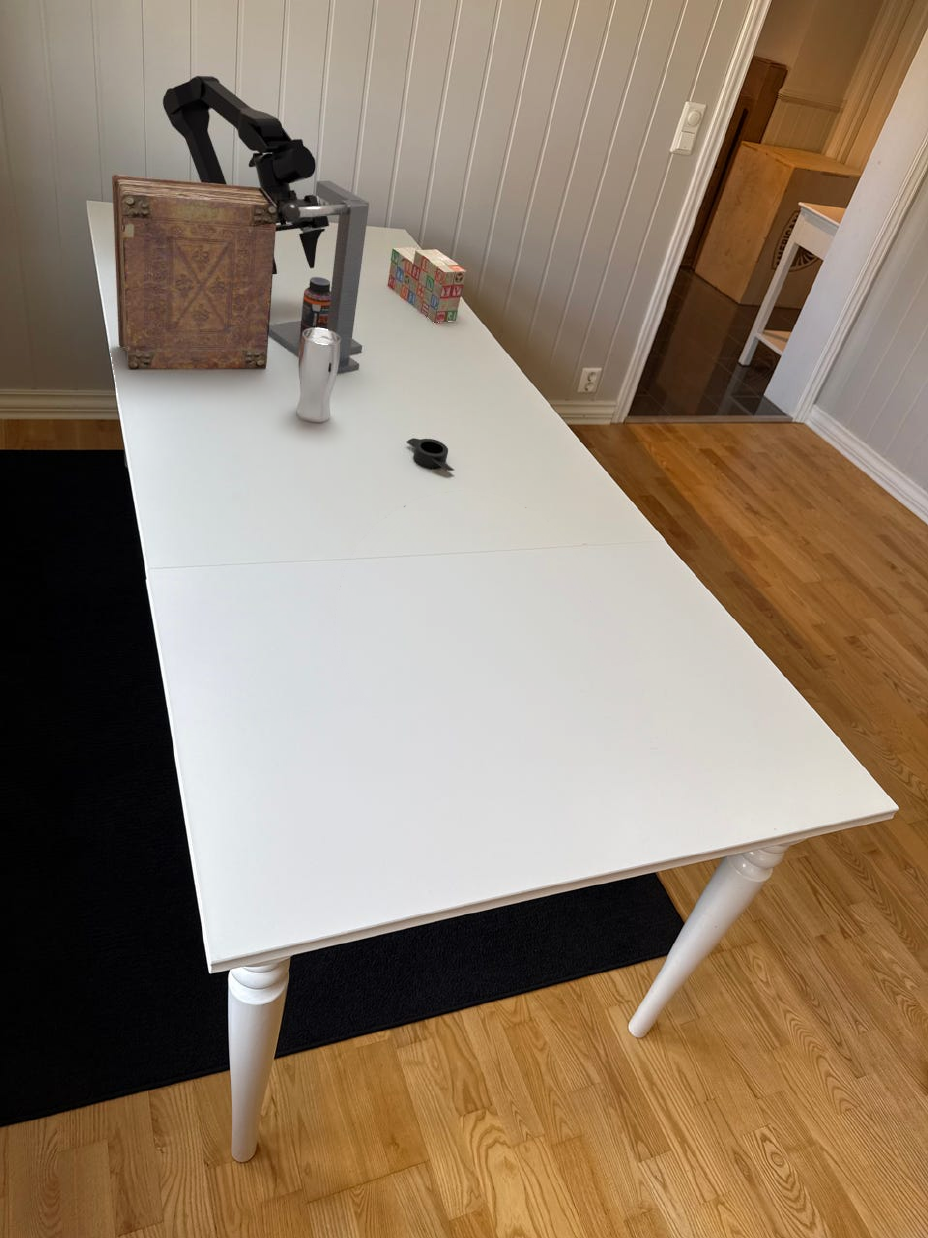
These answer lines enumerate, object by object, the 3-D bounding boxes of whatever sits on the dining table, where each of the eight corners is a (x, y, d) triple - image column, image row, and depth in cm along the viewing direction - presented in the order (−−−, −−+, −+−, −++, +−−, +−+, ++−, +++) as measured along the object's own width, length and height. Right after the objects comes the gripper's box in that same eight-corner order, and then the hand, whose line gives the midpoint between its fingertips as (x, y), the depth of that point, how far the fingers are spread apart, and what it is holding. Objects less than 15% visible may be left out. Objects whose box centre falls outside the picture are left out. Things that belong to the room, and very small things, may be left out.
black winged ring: (446, 449, 160) (449, 435, 158) (454, 479, 152) (457, 464, 150) (404, 444, 158) (407, 430, 156) (410, 475, 150) (413, 460, 148)
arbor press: (222, 339, 173) (227, 168, 153) (320, 323, 188) (337, 166, 168) (281, 385, 164) (295, 210, 144) (379, 365, 179) (404, 203, 159)
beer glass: (315, 428, 155) (324, 348, 145) (285, 412, 157) (292, 332, 147) (340, 416, 160) (350, 338, 150) (310, 401, 162) (318, 323, 152)
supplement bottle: (319, 344, 177) (325, 289, 170) (294, 334, 178) (298, 279, 171) (334, 335, 182) (340, 281, 174) (309, 325, 183) (314, 271, 176)
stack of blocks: (386, 286, 213) (394, 234, 205) (407, 285, 216) (416, 233, 209) (434, 324, 201) (444, 270, 194) (456, 322, 205) (467, 270, 197)
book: (127, 369, 157) (119, 193, 138) (118, 346, 163) (110, 173, 144) (266, 369, 168) (277, 205, 149) (254, 347, 174) (263, 187, 155)
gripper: (256, 184, 163) (276, 272, 169) (336, 176, 174) (352, 260, 180) (227, 194, 171) (247, 279, 177) (305, 186, 182) (322, 266, 188)
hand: (294, 270), depth 181 cm, fingers open, 9 cm apart
